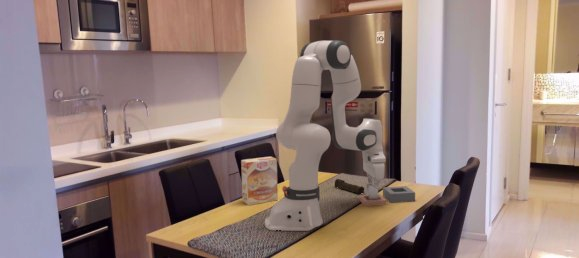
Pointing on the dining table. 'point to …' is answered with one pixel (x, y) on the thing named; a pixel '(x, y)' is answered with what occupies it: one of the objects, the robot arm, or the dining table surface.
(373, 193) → the spigot
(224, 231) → the dining table surface
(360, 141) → the robot arm
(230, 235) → the dining table surface
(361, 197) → the pink square tray
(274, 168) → the coffeecake box
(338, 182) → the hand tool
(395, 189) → the socket block
